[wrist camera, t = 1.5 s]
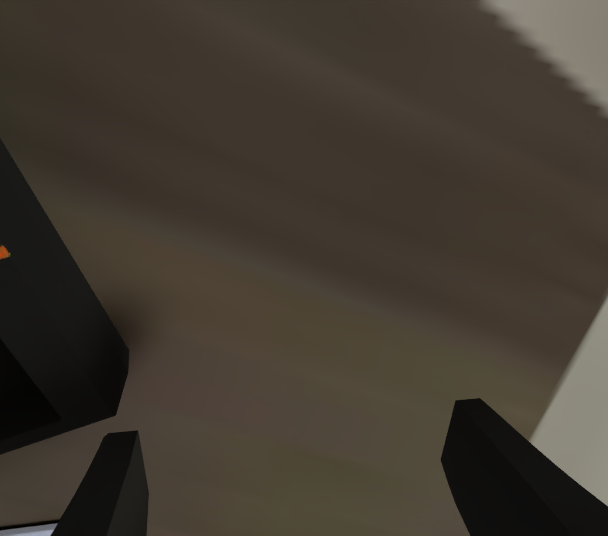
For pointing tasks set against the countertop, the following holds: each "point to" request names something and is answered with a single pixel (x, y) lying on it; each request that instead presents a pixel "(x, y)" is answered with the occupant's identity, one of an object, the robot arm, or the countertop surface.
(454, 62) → the countertop surface
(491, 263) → the countertop surface
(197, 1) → the countertop surface
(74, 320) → the battery charger
